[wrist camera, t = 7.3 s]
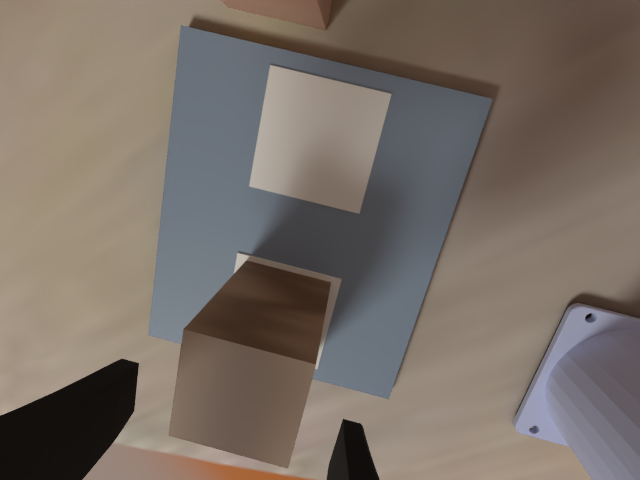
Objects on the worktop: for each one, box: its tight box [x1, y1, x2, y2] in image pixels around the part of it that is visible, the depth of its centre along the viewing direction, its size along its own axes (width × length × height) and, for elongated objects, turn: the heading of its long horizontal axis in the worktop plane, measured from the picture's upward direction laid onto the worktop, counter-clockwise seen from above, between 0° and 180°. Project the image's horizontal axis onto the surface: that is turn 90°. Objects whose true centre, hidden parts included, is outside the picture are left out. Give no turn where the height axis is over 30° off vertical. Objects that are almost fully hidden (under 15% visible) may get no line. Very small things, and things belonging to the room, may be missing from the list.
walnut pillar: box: [169, 260, 331, 468], centre depth 16 cm, size 4×4×7 cm
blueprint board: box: [148, 25, 493, 399], centre depth 18 cm, size 14×16×1 cm
